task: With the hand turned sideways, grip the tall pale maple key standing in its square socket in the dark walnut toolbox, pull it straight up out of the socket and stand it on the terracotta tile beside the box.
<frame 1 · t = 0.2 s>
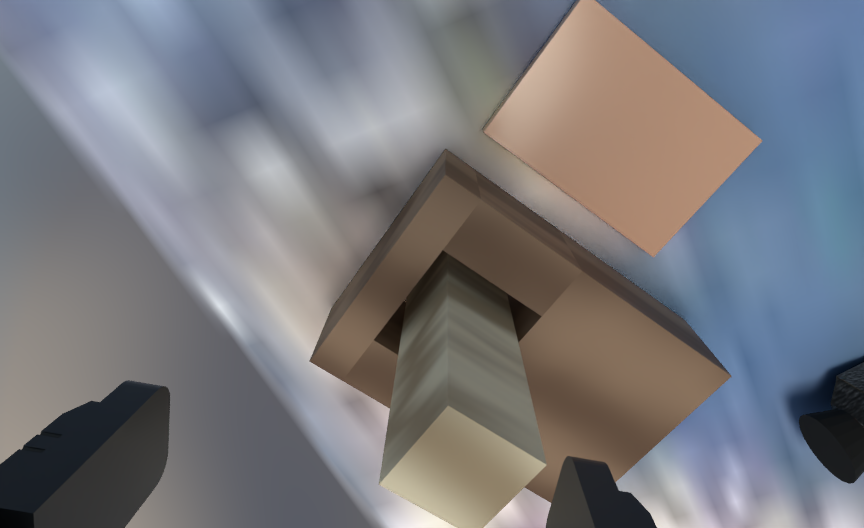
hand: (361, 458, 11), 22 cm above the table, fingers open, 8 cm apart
walnut toolbox: (507, 314, 34), on the table
maple key: (454, 279, 33), resting in walnut toolbox
terracotta tile: (617, 133, 30), on the table
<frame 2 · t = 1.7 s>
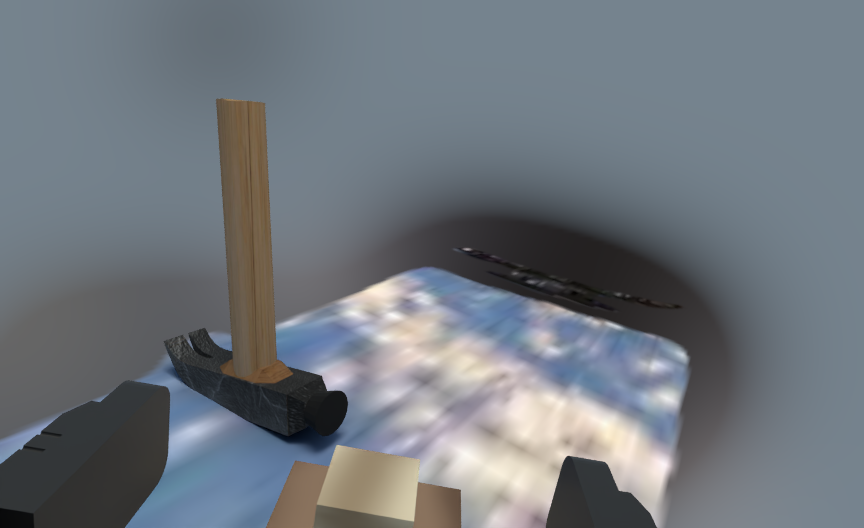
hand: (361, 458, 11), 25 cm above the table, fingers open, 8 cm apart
hammer: (250, 405, 56), on the table
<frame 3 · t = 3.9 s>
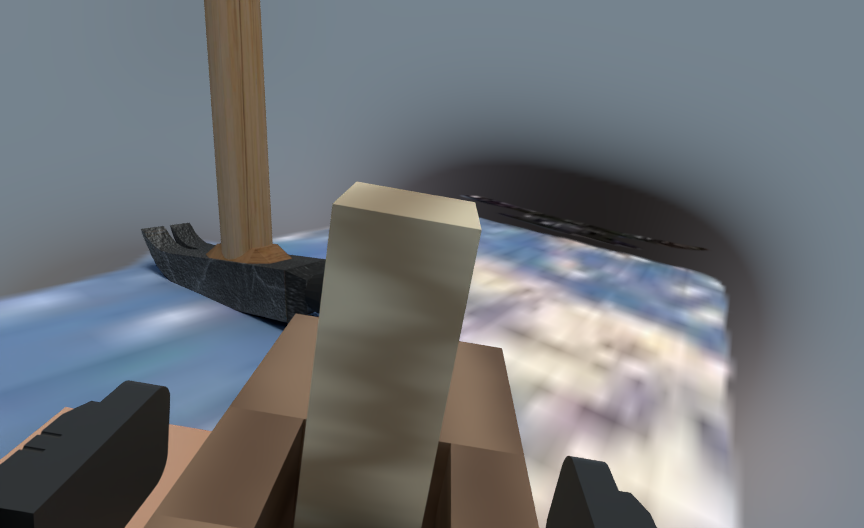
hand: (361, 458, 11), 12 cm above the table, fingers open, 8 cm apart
hammer: (242, 300, 48), on the table
terracotta tile: (66, 521, 23), on the table
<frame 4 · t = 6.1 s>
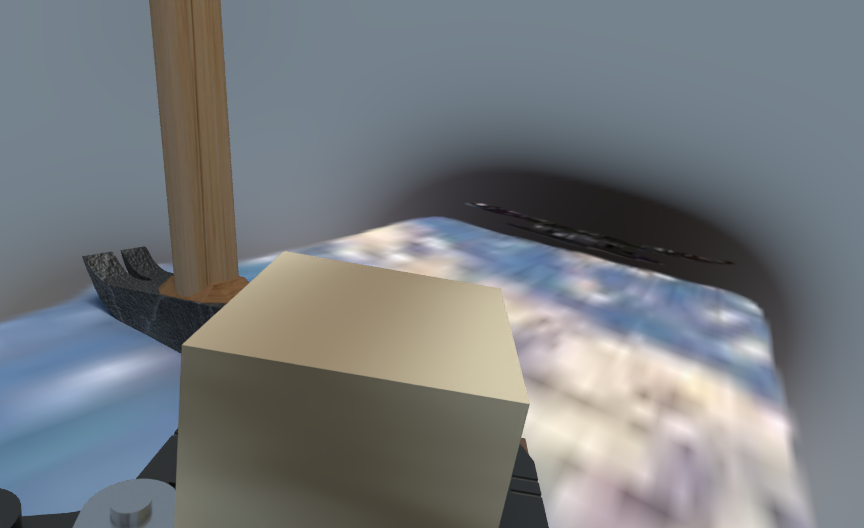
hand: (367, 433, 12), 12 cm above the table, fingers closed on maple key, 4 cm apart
hammer: (203, 343, 40), on the table
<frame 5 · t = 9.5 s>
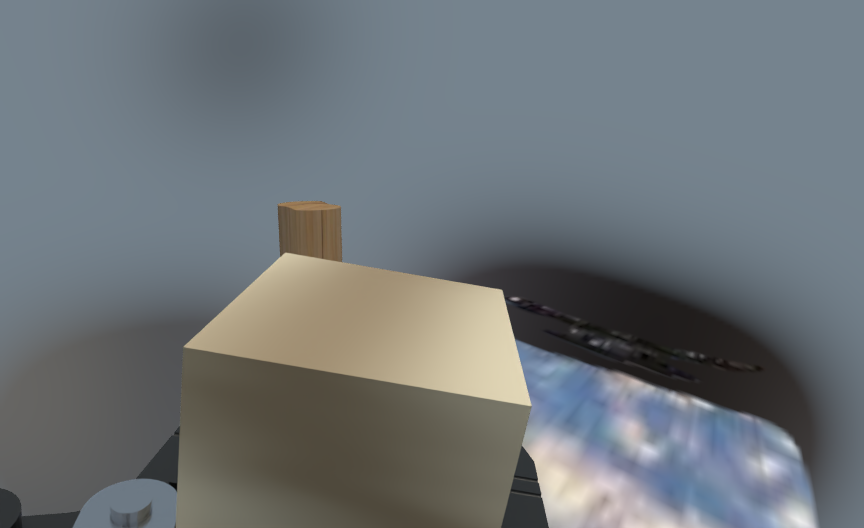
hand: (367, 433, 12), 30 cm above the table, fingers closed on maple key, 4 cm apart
when the fingers open (14 cm above the table, at t = 13.1 s): maple key drops 1 cm, resting on terracotta tile.
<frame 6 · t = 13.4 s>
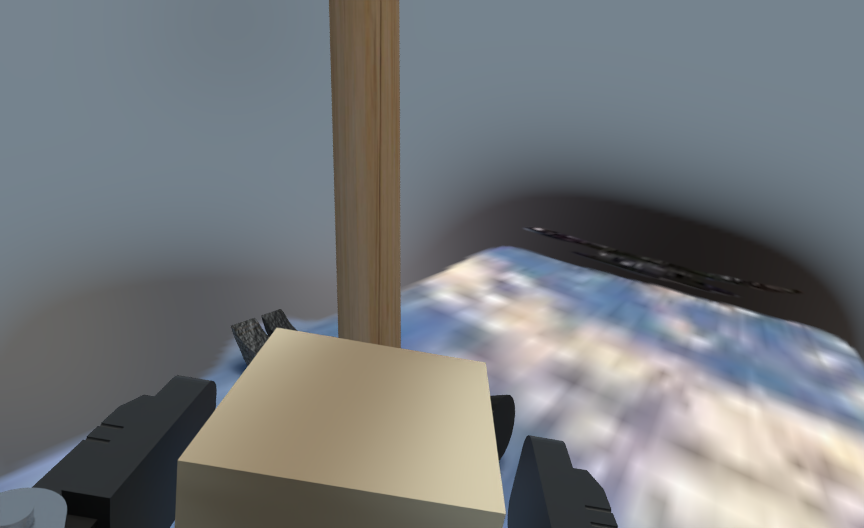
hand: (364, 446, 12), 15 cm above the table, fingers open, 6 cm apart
hammer: (359, 417, 39), on the table
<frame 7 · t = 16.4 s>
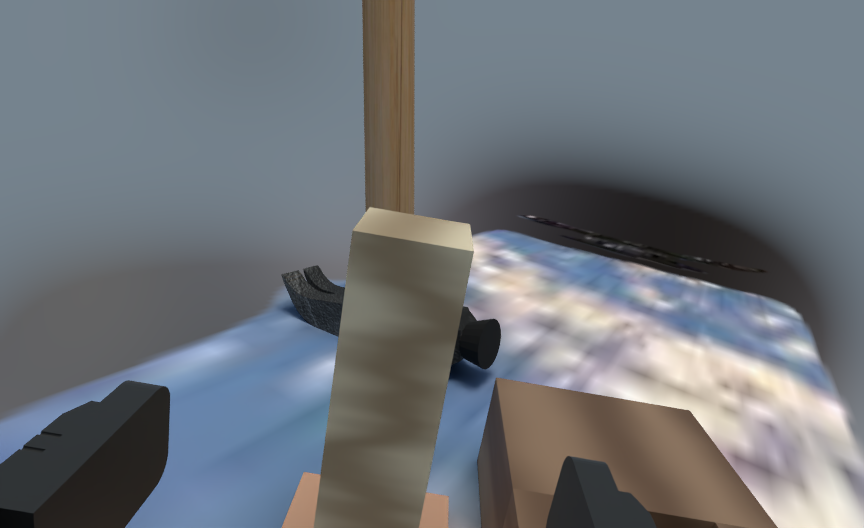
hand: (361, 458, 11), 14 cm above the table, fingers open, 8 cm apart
hammer: (381, 344, 50), on the table
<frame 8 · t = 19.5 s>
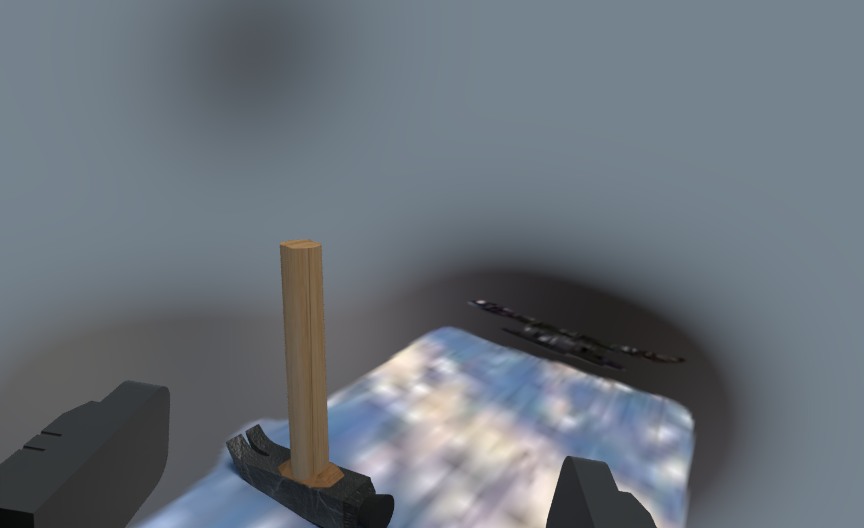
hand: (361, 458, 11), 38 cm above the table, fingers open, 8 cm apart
hammer: (305, 500, 62), on the table
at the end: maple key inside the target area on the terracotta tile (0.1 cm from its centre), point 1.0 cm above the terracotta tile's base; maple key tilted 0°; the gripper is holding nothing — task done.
